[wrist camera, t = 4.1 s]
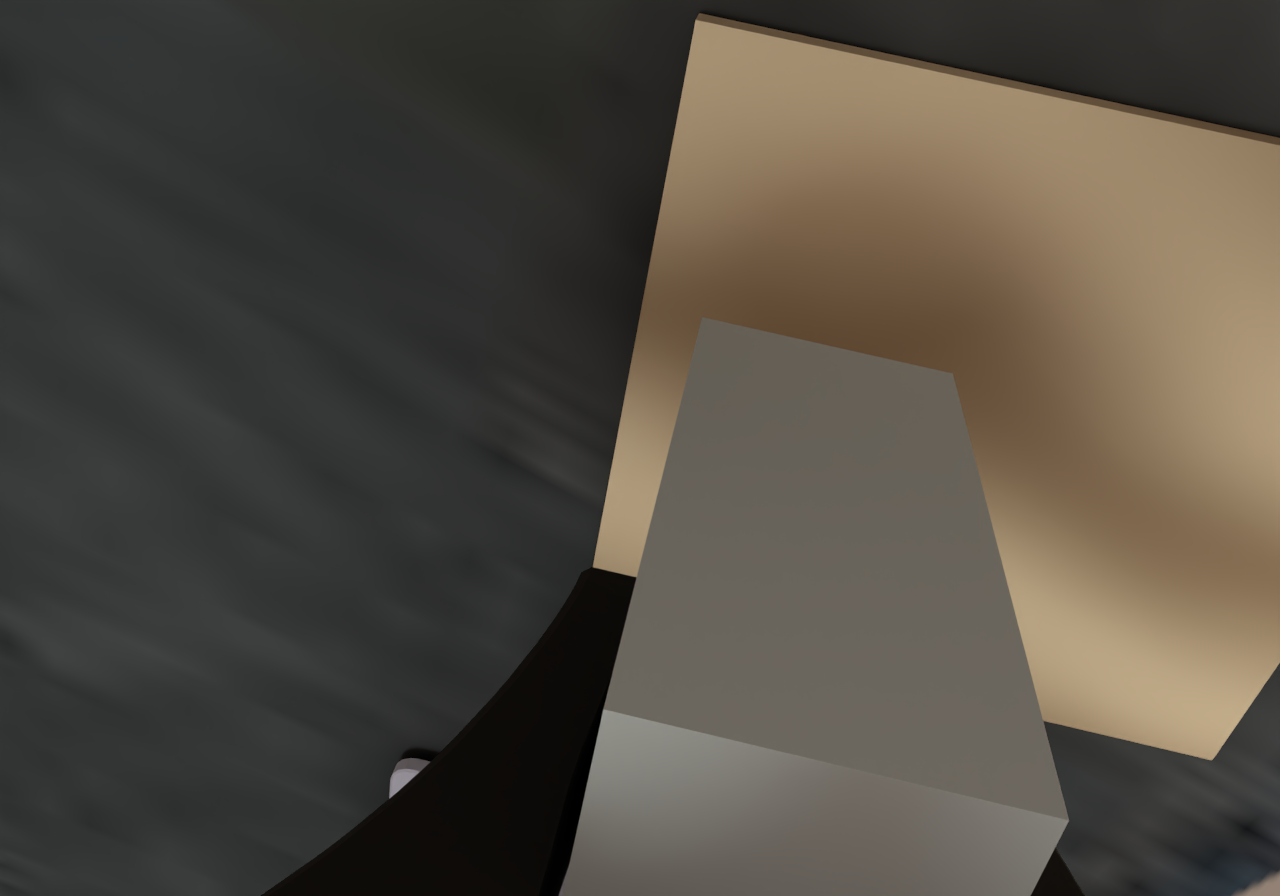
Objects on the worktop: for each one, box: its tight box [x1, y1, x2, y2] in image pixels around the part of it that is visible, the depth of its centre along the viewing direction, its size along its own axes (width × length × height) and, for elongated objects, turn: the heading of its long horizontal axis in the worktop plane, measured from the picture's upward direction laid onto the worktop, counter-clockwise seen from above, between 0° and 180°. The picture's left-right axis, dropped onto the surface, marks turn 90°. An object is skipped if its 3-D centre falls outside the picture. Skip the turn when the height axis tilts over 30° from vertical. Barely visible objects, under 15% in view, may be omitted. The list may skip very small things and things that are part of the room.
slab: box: [563, 317, 1069, 896], centre depth 12 cm, size 6×3×7 cm, turn 170°
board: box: [593, 13, 1280, 760], centre depth 18 cm, size 11×12×1 cm
